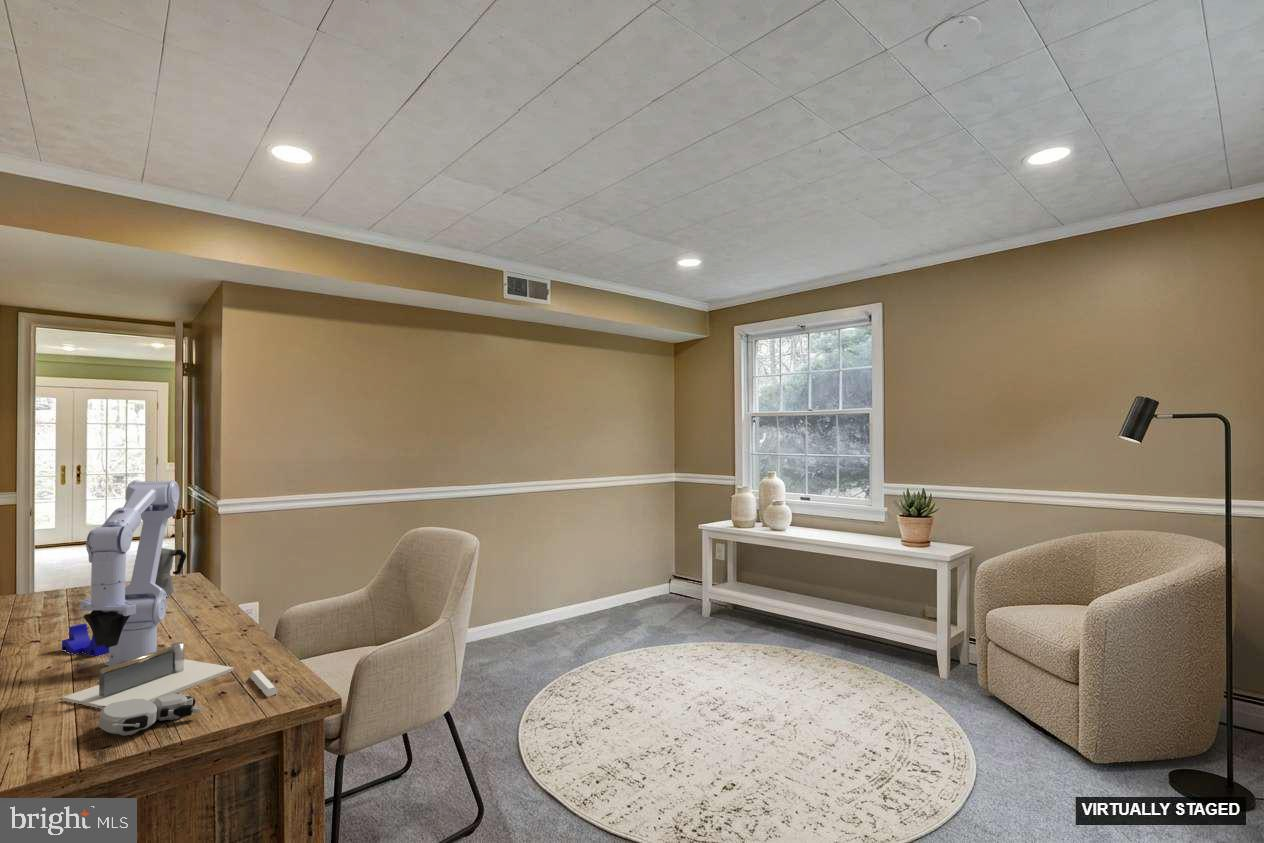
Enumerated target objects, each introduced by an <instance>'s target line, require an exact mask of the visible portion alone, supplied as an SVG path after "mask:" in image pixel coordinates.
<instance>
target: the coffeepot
mask: <svg viewBox="0 0 1264 843" xmlns="http://www.w3.org/2000/svg"><path fill="white" fill-rule="evenodd" d="M175 556H176V557H177V556H180V557H179V559H178V564H177V566H176V567H177V568H176V570H175V571H172V569H173V563H174V559H175V558H174V557H175ZM186 558H187V554H186V553H185V551H184V550H183V549H172V548H171V549H170V548H163V547H162V549H161V555H160V560H159V565H158V571H157V576H156V581H155V584H156V585H158V586H159V587H161V588H162V589H164V590H165V592H166V594H167V595H170V594H172V593H173V592H174V593H175V590H174V585H173V580H172V578H173V577H172V576H171V571H172V574H173V575H179V574H181V573H182V569H183V566H184V563H185V561H186Z"/></svg>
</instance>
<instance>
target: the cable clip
mask: <svg viewBox="0 0 1264 843" xmlns="http://www.w3.org/2000/svg"><path fill="white" fill-rule="evenodd" d="M68 635H69V636H68V638H67V639H63V640H62V639H61V651H62V650H66V652H69V653H73V654H77V653H81V654H83V653H86V654H85V655H87V654H89V655H88V656H91V655H94V656H97V657H100V656H103V654H104V655H107V654H106V653H108V654H109V648H105V645H102V646H97V645H96V642H95V639H94V635H93V634H92V636H91V637H92V638H90V636H89V632H88V623H87V624H86V623H81V624H76V625H72V626H68ZM82 652H83V653H82ZM69 653H68V654H69ZM77 655H78V654H77ZM99 655H100V656H99ZM94 656H93V657H94Z"/></svg>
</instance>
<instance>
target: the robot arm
mask: <svg viewBox="0 0 1264 843" xmlns="http://www.w3.org/2000/svg"><path fill="white" fill-rule="evenodd" d="M179 500H180V486H179V484H178V483H177V481H176V480H159V481H157V480H154V481H152V480H151V481H137V480H132V481H130V482H129V484H127V486H126V489H125V504H124V505H123V506H122V507H118V508H116V509H115V510H114V511H113V512H112V513H111V514H110V515H109V517H108V518H106V520H105V521H104V523H103V524H102V525H101V526H99V527H98V526H97V527H95V528H93V529H91V530H90V531H89V532H88V534H87V537H86V542H85V549H86V552H87V554H88V563H91V568H90V569H91V571H90V573H91V575H90V578H91V579H90V598H87V599H83V600H80V606H79V607H80V610H83V611H89V613H87V614H84V615H83V619H84V620H85V622H86V623H87V625H89V627H90V630H91V632H92V635H94V639H95V642H96V645H97V646H102V645H105V648H109V653H108V661H106V662H105V663H104V666H106V667H108V666H112V665H115V664H118V663H121V662H124V661H127V660H131V659H134V658H137V657H140V656H143V655H146V654H150V653H153V652H156V651H158V648H157V647H158V646H157V644H158V643H157V641H158V624H159V623H161V622H162V621H163V620H164V618H165V616H166V614H167V598H168V597H167V594H166V592H165V590H164V589H162V588H161V587H159V586H158V585H156V584H155V581H156V576H157V571H158V565H159V560H160V555H161V549H162V548H163V543H164V538H165V532H166V527H167V524H168V521H169V519H170V518H172V517H174V516H176V515H177V514H176V512H177V510H178V506H179ZM141 522H142V527H141V529H140V530H141V531H140V535H139V541H138V545H137V550H136V555H135V560H134V565H133V571H132V575H131V580H130V583H128V585H126V567H127V566H126V564H127V562H126V560H127V552H128V551H129V550H130V548H131V545H132V540H133V538H134V532H135V531H136V530H137V529H138V526H140V525H141ZM166 597H167V598H166Z"/></svg>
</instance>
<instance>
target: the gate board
mask: <svg viewBox="0 0 1264 843" xmlns="http://www.w3.org/2000/svg"><path fill="white" fill-rule="evenodd" d="M234 670H235V667H233V666H228V665H221V664H216V663H208V662H204V661H198V660H191V659H187V658H184V670H183V671H182V672H178V673H169V674H166V675H163V676H161V677H158V678H155V679H152V680H149V681H146V682H144V683H141V684H138V685H135V686H132V687H130V688H127V689H124V690H121V691H118V692H115V693H113V694H110V695H107V696H99V684H97V685H94V686H92V687H88V688H86V689H82V690H79V691H76V692H74V693H73V692H72V693H70V694H68V695H64V696H62V697H61V701H62V700H65V701H69V702H74V703H79V704H83V705H87V706H91V707H90V708H92V707H96V706H98V705H102V706H107V705H109V704H111V703H115V702H120V701H125V700H130V699H145V700H148V701H150V702H152V703H153V702H154V701H155V700H156V699H157V698H159V697H163V696H167V695H171V694H175V693H180V692H182V691H185V690H188V689H191V688H194V687H195V686H198V685H200V684H203V683H206V682H208V681H211V680H214V679H217V678H220V677H221V675H222V676H224V675H227V674H229V672H230V673H232V672H234ZM231 671H232V672H231ZM69 702H68V703H69ZM74 703H73V704H74ZM83 705H82V706H83ZM87 706H86V707H87ZM103 708H104V707H101V708H100V709H99V710H101V709H103ZM95 709H97V707H96V708H95Z"/></svg>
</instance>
